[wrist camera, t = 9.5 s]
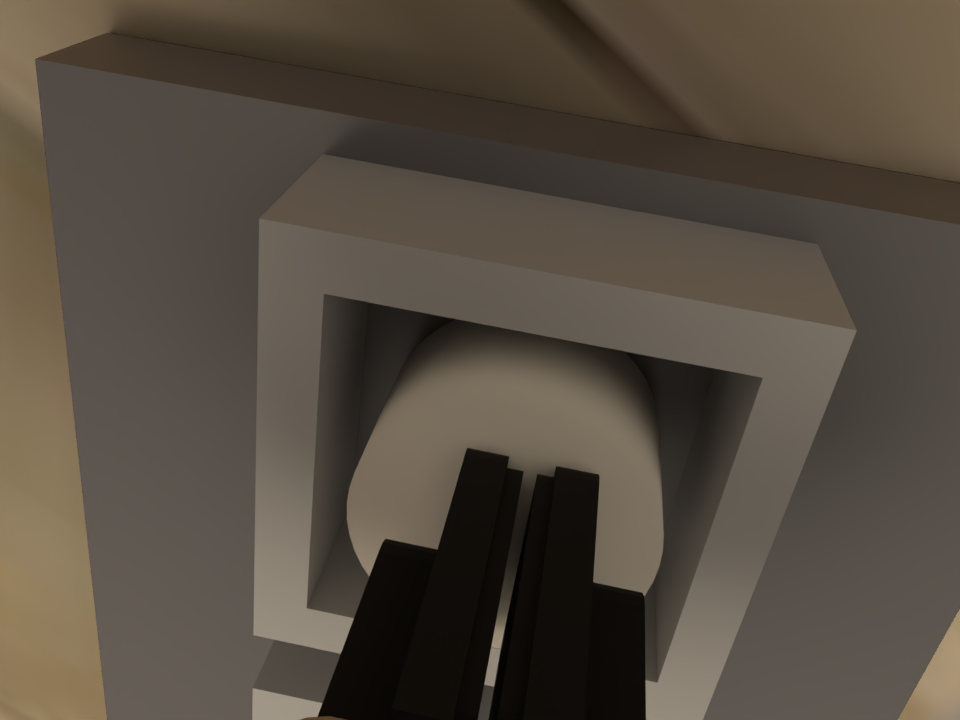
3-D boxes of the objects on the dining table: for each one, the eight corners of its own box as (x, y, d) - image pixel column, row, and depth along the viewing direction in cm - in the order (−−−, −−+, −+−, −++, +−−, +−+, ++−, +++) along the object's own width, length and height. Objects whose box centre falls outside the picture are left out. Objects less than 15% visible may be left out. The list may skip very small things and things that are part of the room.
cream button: (402, 283, 13) (357, 369, 11) (689, 338, 12) (699, 436, 10) (379, 506, 15) (337, 615, 13) (626, 556, 14) (624, 676, 12)
